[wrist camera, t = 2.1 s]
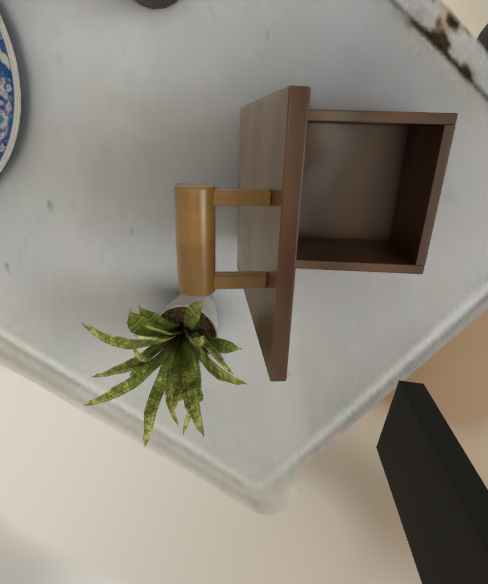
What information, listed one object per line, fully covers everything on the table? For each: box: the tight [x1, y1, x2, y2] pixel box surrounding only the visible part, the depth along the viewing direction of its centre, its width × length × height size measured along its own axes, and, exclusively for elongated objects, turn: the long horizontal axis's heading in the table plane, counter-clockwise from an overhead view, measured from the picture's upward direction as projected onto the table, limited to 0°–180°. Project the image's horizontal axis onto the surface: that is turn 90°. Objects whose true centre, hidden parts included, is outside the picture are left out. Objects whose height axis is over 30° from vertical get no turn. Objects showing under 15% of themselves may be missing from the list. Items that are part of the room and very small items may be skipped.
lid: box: [174, 86, 310, 381], centre depth 23 cm, size 16×13×5 cm
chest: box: [296, 109, 458, 274], centre depth 35 cm, size 16×13×9 cm
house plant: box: [81, 294, 246, 446], centre depth 38 cm, size 14×14×16 cm
